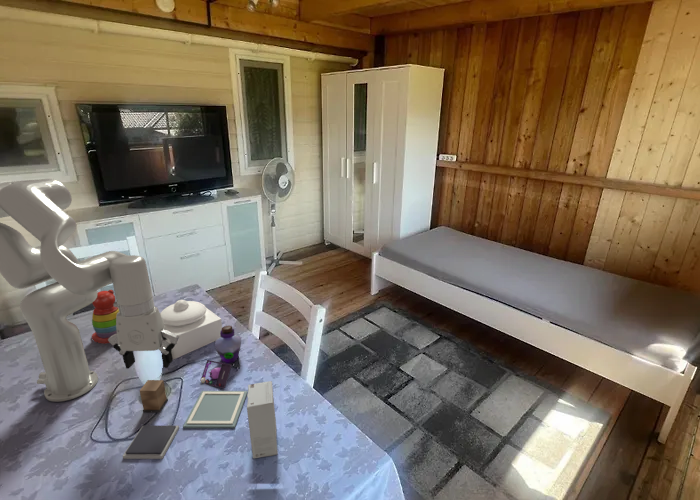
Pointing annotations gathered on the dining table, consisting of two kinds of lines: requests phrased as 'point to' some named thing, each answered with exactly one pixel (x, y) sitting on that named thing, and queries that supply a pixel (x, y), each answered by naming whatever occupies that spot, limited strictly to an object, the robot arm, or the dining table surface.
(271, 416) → the skincare box
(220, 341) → the potion bottle
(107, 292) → the stacking bear
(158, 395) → the stamp
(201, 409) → the board
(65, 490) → the dining table surface
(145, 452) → the ink pad
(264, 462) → the dining table surface
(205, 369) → the purple toy box
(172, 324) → the butter dish
